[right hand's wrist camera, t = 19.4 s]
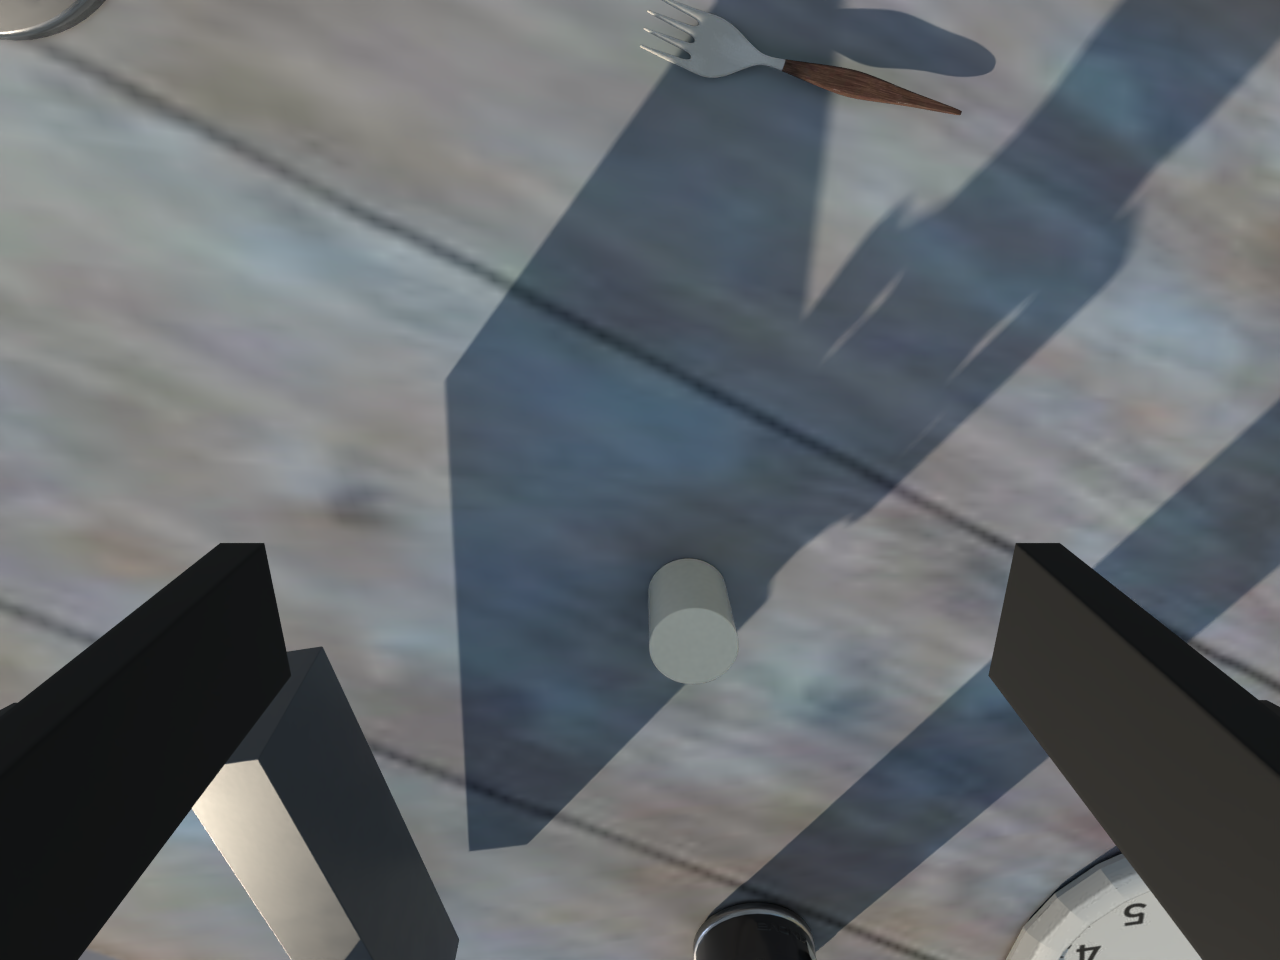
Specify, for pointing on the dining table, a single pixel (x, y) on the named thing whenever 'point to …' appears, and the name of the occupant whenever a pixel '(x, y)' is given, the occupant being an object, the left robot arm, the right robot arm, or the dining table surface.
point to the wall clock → (1103, 921)
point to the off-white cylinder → (691, 622)
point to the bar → (323, 831)
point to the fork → (774, 62)
